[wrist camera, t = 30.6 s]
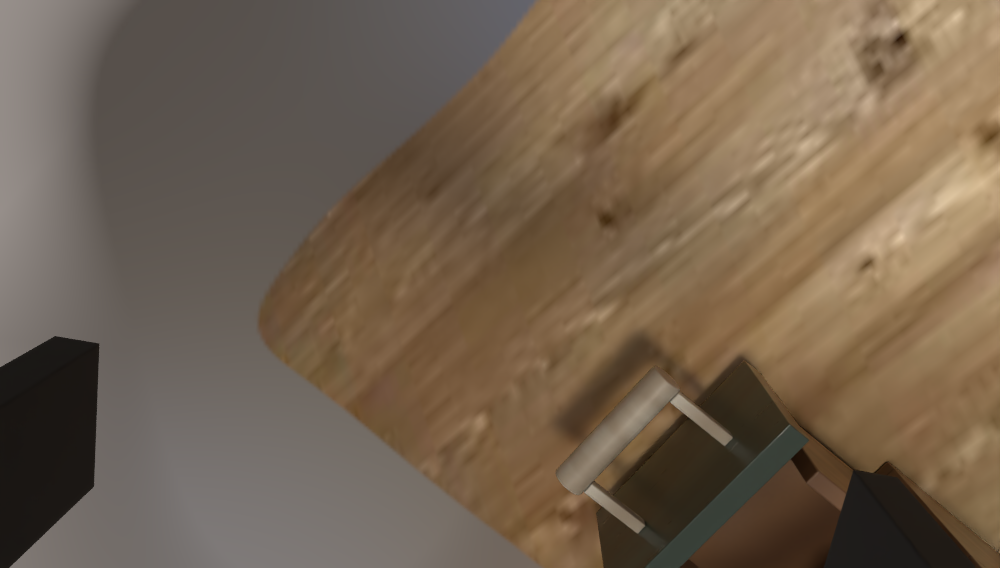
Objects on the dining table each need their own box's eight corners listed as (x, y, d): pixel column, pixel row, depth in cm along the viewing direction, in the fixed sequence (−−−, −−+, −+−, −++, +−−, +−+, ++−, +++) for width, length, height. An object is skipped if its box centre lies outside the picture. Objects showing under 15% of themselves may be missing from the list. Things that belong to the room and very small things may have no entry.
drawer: (525, 458, 45) (523, 540, 37) (671, 299, 42) (701, 351, 34) (777, 653, 47) (824, 766, 39) (931, 513, 44) (1012, 607, 37)
